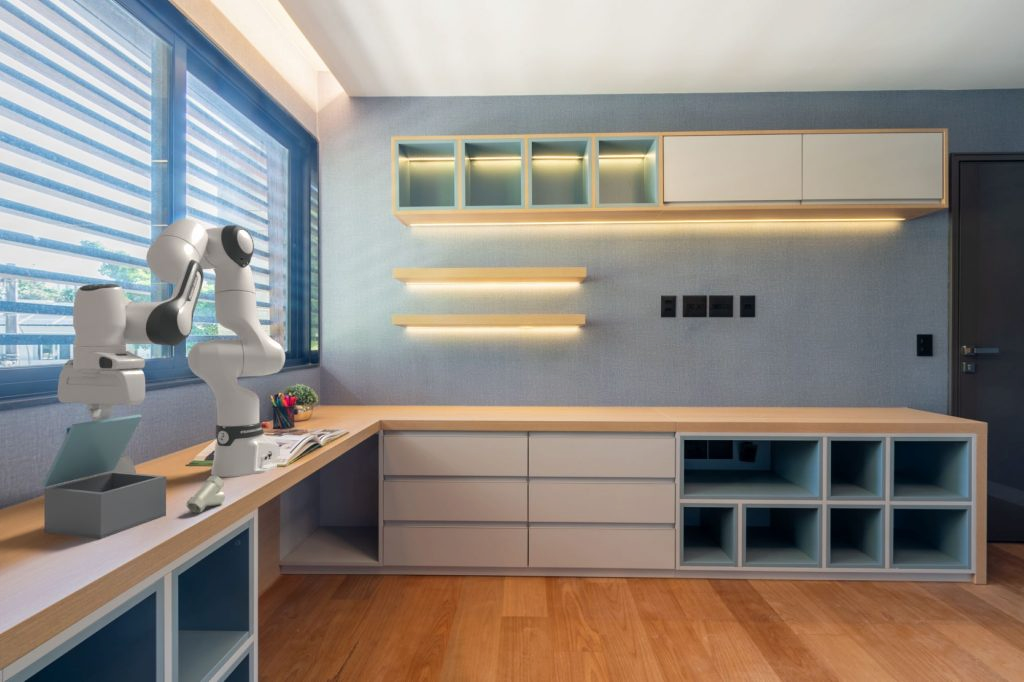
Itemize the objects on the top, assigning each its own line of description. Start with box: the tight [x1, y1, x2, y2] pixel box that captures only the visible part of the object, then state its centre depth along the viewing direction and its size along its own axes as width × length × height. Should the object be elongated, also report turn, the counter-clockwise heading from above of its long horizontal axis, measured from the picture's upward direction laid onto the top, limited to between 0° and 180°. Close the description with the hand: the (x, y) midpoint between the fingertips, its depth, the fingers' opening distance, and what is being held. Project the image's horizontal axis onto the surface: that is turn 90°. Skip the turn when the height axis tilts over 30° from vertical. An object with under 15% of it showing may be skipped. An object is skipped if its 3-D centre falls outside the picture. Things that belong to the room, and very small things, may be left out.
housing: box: [43, 472, 167, 540], centre depth 110 cm, size 14×15×9 cm
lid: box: [41, 414, 143, 488], centre depth 111 cm, size 14×15×1 cm
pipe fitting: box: [186, 475, 226, 514], centre depth 119 cm, size 8×4×7 cm
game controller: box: [75, 453, 137, 481], centre depth 133 cm, size 14×4×10 cm, turn 93°
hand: (100, 425), depth 110 cm, fingers closed
